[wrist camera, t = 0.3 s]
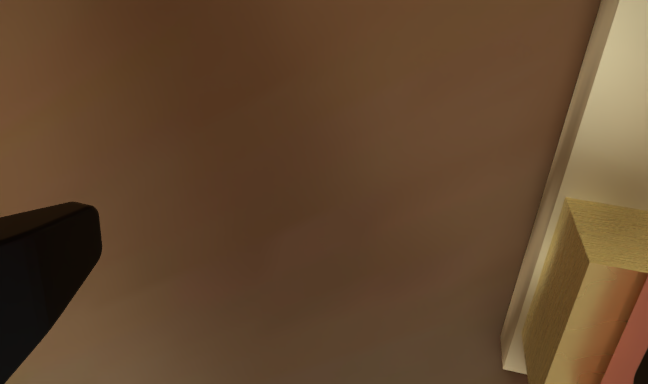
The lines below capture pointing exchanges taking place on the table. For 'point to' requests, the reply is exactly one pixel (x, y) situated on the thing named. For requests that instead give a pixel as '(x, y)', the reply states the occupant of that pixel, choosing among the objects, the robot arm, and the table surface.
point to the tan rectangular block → (585, 292)
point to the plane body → (592, 148)
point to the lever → (630, 344)
